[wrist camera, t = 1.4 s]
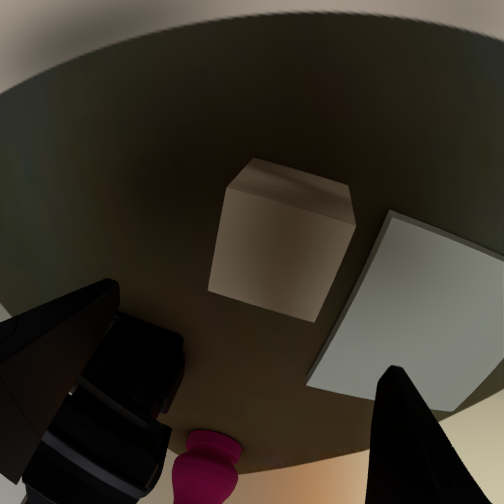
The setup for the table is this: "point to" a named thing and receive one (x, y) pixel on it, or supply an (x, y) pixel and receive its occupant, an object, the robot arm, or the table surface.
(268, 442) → the table surface
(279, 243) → the birch cube
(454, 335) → the sage plate
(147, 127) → the table surface
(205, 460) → the pepper mill
